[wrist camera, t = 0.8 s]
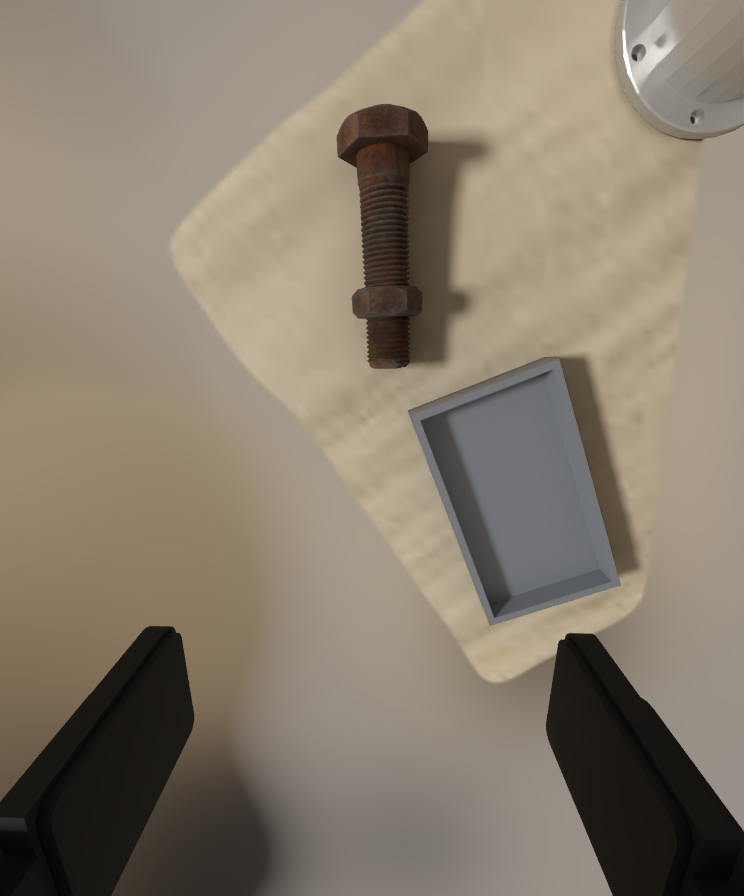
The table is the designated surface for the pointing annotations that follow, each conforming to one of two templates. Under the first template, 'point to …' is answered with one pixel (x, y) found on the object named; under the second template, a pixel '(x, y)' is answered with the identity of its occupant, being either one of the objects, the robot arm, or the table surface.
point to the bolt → (384, 223)
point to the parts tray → (518, 490)
